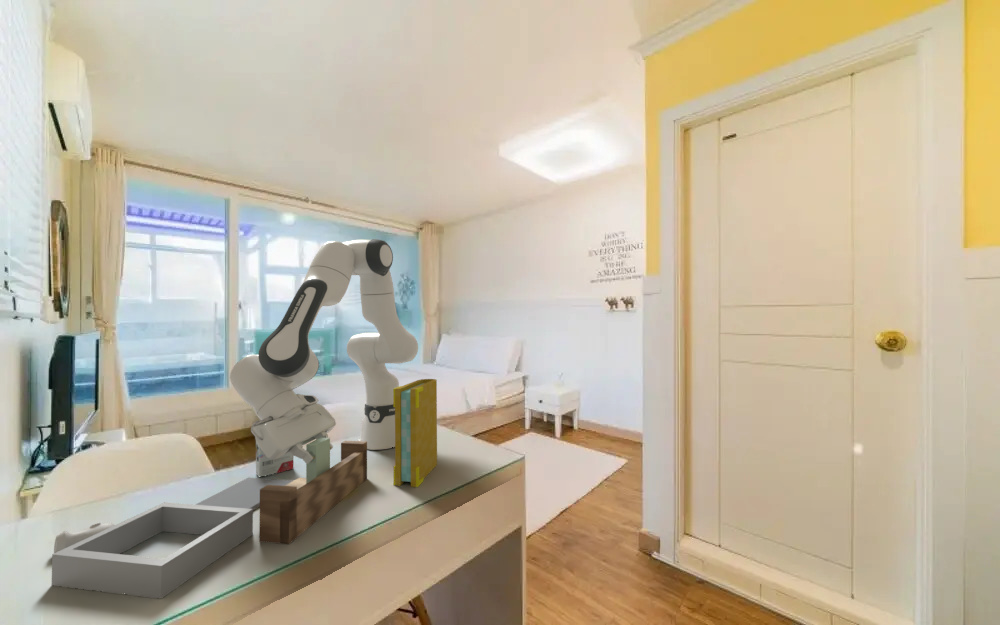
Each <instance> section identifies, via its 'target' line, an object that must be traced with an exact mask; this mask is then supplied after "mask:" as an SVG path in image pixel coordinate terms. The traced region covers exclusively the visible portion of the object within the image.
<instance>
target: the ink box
mask: <svg viewBox="0 0 1000 625" xmlns="http://www.w3.org/2000/svg"><path fill="white" fill-rule="evenodd" d="M293 469H294V455H293V454H292V453H291V452H289V453H287V454H285V455H283V456H281V457H279V458H277V459H275V460H272V459H269V458H267V457H266V455H265V454H264V453H263V451H262V450H261V448H260V446H259V445H258V443H257V441H256V440H255V473H257V474H256V476H257V475H258V476H260V477H261V476H265V475H268V476H270V475H269V474H272V475H275V474H274V473H276V474H279V473H282V472H286V470H287V471H290V470H293ZM258 476H257V477H258ZM265 477H266V476H265ZM261 478H262V477H261Z"/></svg>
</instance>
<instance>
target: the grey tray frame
mask: <svg viewBox="0 0 1000 625" xmlns="http://www.w3.org/2000/svg"><path fill="white" fill-rule="evenodd" d="M253 519H254V510H253V509H246V508H233V507H219V506H206V505H195V504H189V503H177V502H176V503H175V502H163V503H160V504H158V505H156V506H153V507H152V508H150V509H147V510H145V511H143V512H140V513H139V514H136V515H134V516H133V517H130V518H128V519H125V520H124V521H121V522H119V523H117V524H115V526H112V527H110V528H108V529H106V530H104V531H102V532H99V533H97V534H95V535H93V536H91V537H89V538H87V539H84V540H82V541H80V542H78V543H76V544H74V545H71V546H69V547H67V548H65V549H63V550H61V551H58V552H56V553H54V552H53V553H52V555H51V586H52V585H54V586H53V587H59V586H62V587H61V588H67V587H71V588H70V589H75V588H78V589H77V590H83V589H84V591H85V590H86V591H92V590H98V591H97V592H100V591H102V592H101V593H109V594H118V595H125V594H129V595H128V596H134V597H140V598H141V597H144V598H151V599H157V598H159V599H158V600H161V599H160V598H162V597H163V598H164V597H166V596H167V595H169V594H170V593H172V592H173V591H175V590H176V589H177V588H179V587H180V586H181V585H183V584H185V583H186V582H187V581H189V580H190V579H192V578H193V577H194V576H196V575H197V574H199V573H200V572H201V571H202V570H204V569H206V568H207V567H208V566H210V565H211V564H212V563H214V562H216V561H217V560H218V559H220V558H221V557H222V556H224V555H225V554H227V553H228V552H230V551H232V549H234V548H235V547H237V546H238V545H239V544H241V543H242V542H244V541H245V540H247V539H248V538H249V537H251V536H252V535H253V528H254V520H253ZM163 532H164V533H165V532H168V533H178V534H179V533H180V534H190V535H199V536H198V537H197V538H196V539H194V540H192V541H190V542H189V543H187V544H186V545H184V546H183V547H181V548H179V549H177V550H176V551H174V552H173V553H170V554H169V555H167V556H166V557H164V558H163V557H162V558H161V557H160V558H158V557H151V556H150V557H149V556H141V555H131V554H122V553H124V552H127V551H128V550H130V549H131V548H133V547H135V546H137V545H139V544H141V543H143V542H145V541H146V540H149V539H150V538H153V537H154V536H157V535H158V534H159V533H163ZM55 585H56V586H55ZM122 593H123V594H122ZM124 593H125V594H124ZM163 598H162V599H163Z"/></svg>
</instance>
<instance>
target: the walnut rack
mask: <svg viewBox="0 0 1000 625" xmlns="http://www.w3.org/2000/svg"><path fill="white" fill-rule="evenodd" d="M366 480H368V449H367V442H366V441H357V440H344V441H342V442H340V461H339V462H338V463H336V464H335V465H332V466H330V469H328V470H327V471H325V472H324V473H322V474H321V475H319V476H318V477H316V478H315V479H313V480H312V481H310V482H309V483H307V484H306V485H304V486H302V487H301V488H299V489H298V490H297V487H295V486H279V485H267V486H265V487H263V488H261V489H260V507H259V532H258V533H259V536H258V540H259V543H260V542H261V543H273V544H282V545H290V544H292V542H294V541H295V540H296V539H297V538H298V537H300V536H301V535H302V534H303V533H304V532H306V531H307V530H308V529H309V528H310V527H312V526H313V525H314V524H315V523H316V522H317V521H318V520H320V519H321V518H322V517H323V516H324V515H326V514H327V513H328V512H330V510H331V509H333V508H334V507H335V506H336V505H338V504H339V503H340V502H341V501H342V500H344V499H345V498H346V497H347V496H348V495H349V494H351V493H352V492H353V491H354V490H356V488H358V487H359V486H360V485H361V484H362V483H364V482H365V481H366Z"/></svg>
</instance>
